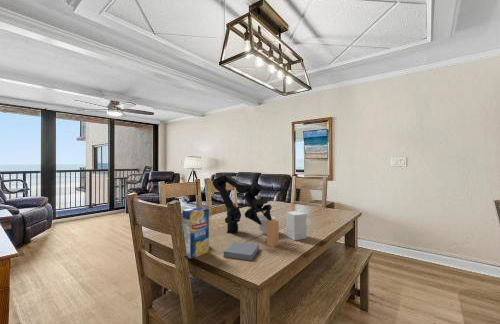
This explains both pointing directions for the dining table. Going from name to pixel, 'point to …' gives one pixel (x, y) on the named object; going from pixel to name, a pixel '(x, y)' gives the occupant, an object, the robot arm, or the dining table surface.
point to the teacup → (264, 223)
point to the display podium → (241, 250)
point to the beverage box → (196, 231)
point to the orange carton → (272, 233)
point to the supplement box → (296, 225)
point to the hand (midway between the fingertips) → (266, 222)
